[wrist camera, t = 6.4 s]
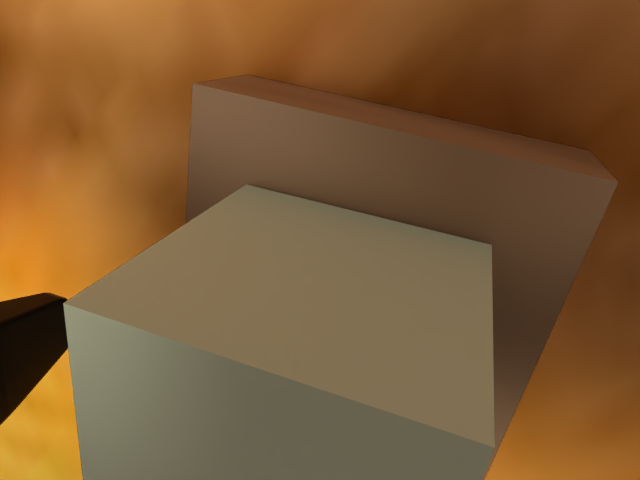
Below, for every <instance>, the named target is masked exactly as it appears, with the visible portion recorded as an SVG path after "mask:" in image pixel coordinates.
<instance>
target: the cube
mask: <svg viewBox="0 0 640 480" xmlns="http://www.w3.org/2000/svg"><path fill="white" fill-rule="evenodd" d="M63 305H64V314H65V323H66V332H67V341H68V350H69V359H70V368H71V377H72V386H73V395H74V404H75V413H76V422H77V431H78V439H79V448H80V457H81V466H82V475H83V480H482V477H483V475H484V472H485V470H486V467H487V465H488V463H489V460H490V458H491V455H492V453H493V450H494V448H495V435H494V365H493V296H492V245H490V244H486V243H482V242H478V241H474V240H470V239H466V238H462V237H458V236H454V235H450V234H446V233H441V232H437V231H433V230H429V229H425V228H421V227H417V226H413V225H409V224H405V223H401V222H397V221H393V220H389V219H385V218H381V217H377V216H373V215H369V214H364V213H360V212H356V211H352V210H348V209H344V208H340V207H336V206H332V205H328V204H324V203H320V202H316V201H312V200H308V199H304V198H300V197H296V196H291V195H287V194H283V193H279V192H275V191H271V190H267V189H263V188H259V187H255V186H251V185H247V184H246V185H245V186H243V187H242V188H240V189H239V190H237V191H235V192H234V193H232V194H231V195H229V196H228V197H226V198H225V199H223V200H222V201H220V202H218V203H217V204H215V205H214V206H212V207H211V208H209V209H208V210H206V211H205V212H203V213H202V214H200V215H198V216H197V217H195V218H194V219H192V220H191V221H189V222H188V223H186V224H185V225H183V226H181V227H180V228H178V229H177V230H175V231H174V232H172V233H171V234H169V235H168V236H166V237H165V238H163V239H161V240H160V241H158V242H157V243H155V244H154V245H152V246H151V247H149V248H148V249H146V250H144V251H143V252H141V253H140V254H138V255H137V256H135V257H134V258H132V259H131V260H129V261H127V262H126V263H124V264H123V265H121V266H120V267H118V268H117V269H115V270H114V271H112V272H111V273H109V274H107V275H106V276H104V277H103V278H101V279H100V280H98V281H97V282H95V283H94V284H92V285H90V286H89V287H87V288H86V289H84V290H83V291H81V292H80V293H78V294H77V295H75V296H74V297H72V298H70V299H69V300H67V301H66V302H64V303H63Z"/></svg>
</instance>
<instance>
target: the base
mask: <svg viewBox="0 0 640 480" xmlns="http://www.w3.org/2000/svg"><path fill="white" fill-rule="evenodd" d="M246 184H247V185H251V186H255V187H259V188H263V189H267V190H271V191H275V192H279V193H283V194H287V195H291V196H296V197H300V198H304V199H308V200H312V201H316V202H320V203H324V204H328V205H332V206H336V207H340V208H344V209H348V210H352V211H356V212H360V213H364V214H369V215H373V216H377V217H381V218H385V219H389V220H393V221H397V222H401V223H405V224H409V225H413V226H417V227H421V228H425V229H429V230H433V231H437V232H441V233H446V234H450V235H454V236H458V237H462V238H466V239H470V240H474V241H478V242H482V243H486V244H490V245H492V296H493V365H494V435H495V448H494V450H493V453H492V455H491V458H490V460H489V463H488V465H487V467H486V470H485V472H484V475H483V477H482V480H484V479H485V477H486V475H487V473H488V470H489V468H490V466H491V464H492V462H493V459H494V457H495V455H496V453H497V451H498V448H499V446H500V444H501V442H502V439H503V437H504V435H505V433H506V431H507V428H508V426H509V424H510V422H511V420H512V417H513V415H514V413H515V411H516V408H517V406H518V404H519V402H520V400H521V397H522V395H523V393H524V391H525V389H526V386H527V384H528V382H529V380H530V377H531V375H532V373H533V371H534V369H535V366H536V364H537V362H538V360H539V357H540V355H541V353H542V351H543V349H544V346H545V344H546V342H547V340H548V338H549V335H550V333H551V331H552V329H553V326H554V324H555V322H556V320H557V318H558V315H559V313H560V311H561V309H562V307H563V304H564V302H565V300H566V298H567V295H568V293H569V291H570V289H571V287H572V284H573V282H574V280H575V278H576V276H577V273H578V271H579V269H580V267H581V264H582V262H583V260H584V258H585V256H586V253H587V251H588V249H589V247H590V245H591V242H592V240H593V238H594V236H595V233H596V231H597V229H598V227H599V225H600V222H601V220H602V218H603V216H604V213H605V211H606V209H607V207H608V205H609V202H610V200H611V198H612V196H613V194H614V191H615V189H616V187H617V185H618V181H617V180H616V179H615V178H614V177H613V176H612V175H611V173H610V172H609V171H608V170H607V169H606V168H605V167H604V166H603V165H602V163H601V162H600V161H599V160H598V159H597V158H596V157H595V156H594V155H593V154H592V152H591V151H589V150H585V149H580V148H576V147H571V146H567V145H562V144H558V143H553V142H549V141H544V140H540V139H535V138H531V137H526V136H522V135H517V134H513V133H508V132H504V131H499V130H495V129H490V128H486V127H481V126H477V125H472V124H468V123H463V122H459V121H454V120H450V119H445V118H441V117H436V116H432V115H427V114H423V113H418V112H414V111H409V110H405V109H400V108H396V107H391V106H387V105H382V104H378V103H373V102H369V101H364V100H360V99H355V98H351V97H346V96H342V95H337V94H333V93H328V92H324V91H319V90H315V89H310V88H306V87H301V86H297V85H292V84H288V83H283V82H279V81H274V80H270V79H265V78H261V77H256V76H252V75H242V76H236V77H230V78H223V79H217V80H210V81H204V82H198V83H193V88H192V107H191V126H190V146H189V165H188V184H187V204H186V223H188V222H189V221H191V220H192V219H194V218H195V217H197V216H198V215H200V214H202V213H203V212H205V211H206V210H208V209H209V208H211V207H212V206H214V205H215V204H217V203H218V202H220V201H222V200H223V199H225V198H226V197H228V196H229V195H231V194H232V193H234V192H235V191H237V190H239V189H240V188H242V187H243V186H245V185H246ZM186 223H185V224H186Z"/></svg>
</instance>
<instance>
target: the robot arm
mask: <svg viewBox="0 0 640 480" xmlns="http://www.w3.org/2000/svg"><path fill="white" fill-rule="evenodd" d="M66 301H67V299H66V298H64V297H61V296H58V295H55V294H52V293H41V294H36V295H31V296H26V297H21V298H17V299H12V300H7V301H2V302H0V425H1V424H2V423H3V422H4V421H5V420H6V419H7V418H8V417H9V416H10V415H11V413H12V412H13V411H14V410H15V409H16V408H17V407H18V406H19V405H20V403H21V402H22V401H23V400H24V399H25V398H26V397H27V395H28V394H29V393H30V392H31V391H32V390H33V388H34V387H35V386H36V385H37V384H38V383H39V381H40V380H41V379H42V378H43V377H44V376H45V374H46V373H47V372H48V371H49V370H50V369H51V367H52V366H53V365H54V364H55V363H56V362H57V360H58V359H59V358H60V357H61V356H62V355H63V354H64V352H65V351H66V350H67V349H68V341H67V332H66V323H65V314H64V305H63V303H64V302H66Z"/></svg>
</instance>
